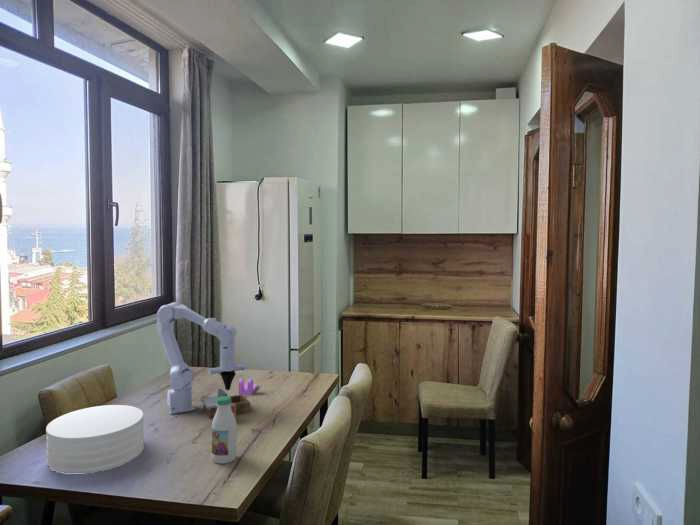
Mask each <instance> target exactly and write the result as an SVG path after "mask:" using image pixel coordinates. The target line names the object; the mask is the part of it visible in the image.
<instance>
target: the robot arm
mask: <svg viewBox="0 0 700 525" xmlns="http://www.w3.org/2000/svg"><path fill="white" fill-rule="evenodd" d="M156 316H157V319H156V330H157V334H158V336H159V339H160V341H161V344H162V347H163V350H164V353H165V355H166V358H167V360H168V363H169V366H170V372H169V377H170V386H171V387H172V389H168V390H167V392H166V393H167V394H166V396H167V397H166V399H167V401H166V404H167V407H166V409H167V410H168V412H169V414H171V415H174V414H179V413H180V414H181V413H184V412H185V413H186V412H190V411H195V410H196V408H195V407H194V406H193V390H192V389H193V388H192V386H193V385H192V382H193V381H194V379H195V374H194V372H193V370H192V369H190V367H189V365H188V364H187V363H186V362H185V360H184V357H183V356H182V353H181V350H180V348H179V344H178V342H177V339H176V336H175V333H174V331H173V327H172V326H174V323H175V322H176V320H178V319H186V320H188V321H190V322H192V323H195V324H197V325H199V326H201V327H202V330H203V331H205V332H206V333H209V334H210V335H212V336H214V337H216V338H217V339H218V341H220V342H219V343H220V345H219V353H220V354H219V356H220V357H219V358H220V359H219V366H217V367H212V368H209V369H208V374H209V375H210V376H212V375H215V374H219V375H220V376H221V379H222V381H223V386H224V389H225V391H230V390H231V386H232V383H233V380H234V378H235V376H236V372H237V371H246V364H235V363H236V362H235V360H236V358H235V355H236V350H235V349H236V346H235V341H236V340H235V338H236V336H237V330H236V328H235V327H234V326H233V325H227V323H222V322H220V321H218V320H217V318H215V317H208V318H206V317H204V316H203V315H201V314H199V313H197V312H195V311H194V310H192V309H191V308H189V307H188V306H186V305H185V304H181V303H180V302H178V301H174V302H171V303H168V304H164V305H161V306H160V308H158V310H157V312H156Z"/></svg>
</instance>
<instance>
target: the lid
mask: <svg viewBox="0 0 700 525" xmlns="http://www.w3.org/2000/svg"><path fill="white" fill-rule="evenodd" d="M221 396H228V393H227V392H226V391H225V390H224V389H222V388H218V389H217V395H212V396H206V397H201V398H200V402H201V403H202V405H203V404H204V405H205V406H206V407H207V408H208V409H211V408H217V402H216V401H217V398H218V397H221ZM231 403H232V402H231Z"/></svg>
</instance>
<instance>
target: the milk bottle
mask: <svg viewBox="0 0 700 525" xmlns="http://www.w3.org/2000/svg"><path fill="white" fill-rule="evenodd" d="M229 396H230V395H229ZM229 396H228V395H227V396H221V397H218V398H217V401H216V402H217V411H216V414H215V416H214V418H213V419H212V424H211V459H212V462H214V463H215V464H221V465H222V464H230V463H231V462H234V461H235V460H236V459H237V455H238V453H237V452H238V451H237V449H238V446H237V443H238V442H237V441H238V440H237V438H238V437H237V418H236V419H235V416H234V414H233V412H232V410H231V397H229Z"/></svg>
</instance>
